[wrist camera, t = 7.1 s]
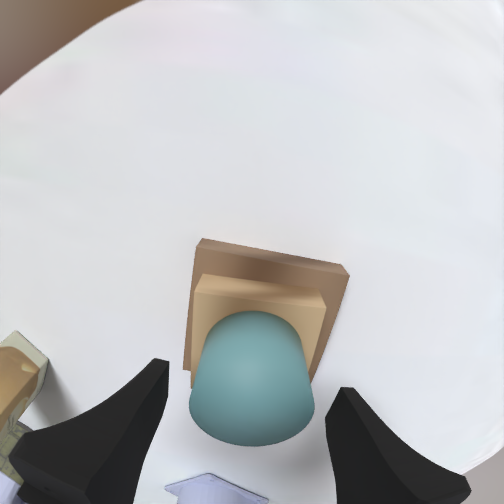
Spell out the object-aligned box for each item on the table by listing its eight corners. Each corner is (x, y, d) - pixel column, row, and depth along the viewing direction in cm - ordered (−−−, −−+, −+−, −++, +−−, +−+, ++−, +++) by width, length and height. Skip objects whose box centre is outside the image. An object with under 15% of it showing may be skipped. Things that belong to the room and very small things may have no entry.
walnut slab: (338, 260, 17) (349, 275, 15) (304, 366, 20) (308, 389, 17) (204, 235, 17) (196, 246, 15) (190, 347, 19) (182, 369, 17)
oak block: (318, 288, 15) (326, 307, 13) (295, 376, 17) (298, 400, 15) (202, 273, 15) (193, 291, 13) (197, 364, 17) (190, 388, 15)
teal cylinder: (321, 354, 14) (337, 412, 10) (249, 400, 15) (247, 457, 11) (257, 290, 13) (257, 343, 9) (184, 347, 14) (164, 404, 10)
